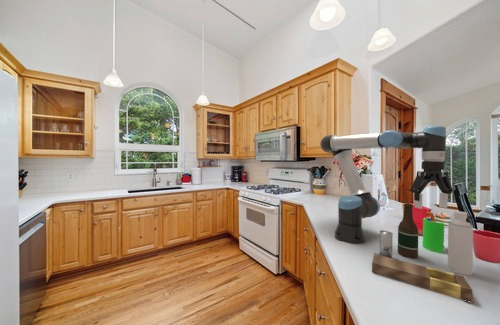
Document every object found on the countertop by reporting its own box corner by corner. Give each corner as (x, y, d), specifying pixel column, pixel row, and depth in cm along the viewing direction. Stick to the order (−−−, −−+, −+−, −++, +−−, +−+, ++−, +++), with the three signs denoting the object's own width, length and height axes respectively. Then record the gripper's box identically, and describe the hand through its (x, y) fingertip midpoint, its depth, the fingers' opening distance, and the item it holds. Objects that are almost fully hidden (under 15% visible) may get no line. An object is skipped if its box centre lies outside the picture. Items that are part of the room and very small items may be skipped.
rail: (371, 273, 74) (372, 262, 74) (373, 263, 81) (373, 253, 81) (472, 303, 59) (472, 290, 59) (463, 287, 66) (463, 276, 66)
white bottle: (476, 277, 72) (477, 211, 72) (451, 272, 75) (452, 208, 75) (467, 268, 78) (468, 207, 78) (444, 264, 81) (445, 205, 81)
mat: (372, 261, 83) (372, 260, 83) (374, 253, 90) (374, 252, 90) (398, 268, 78) (399, 267, 78) (398, 259, 85) (398, 258, 85)
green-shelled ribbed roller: (450, 253, 91) (451, 215, 91) (430, 251, 93) (431, 214, 93) (436, 245, 100) (436, 211, 100) (418, 243, 102) (418, 210, 102)
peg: (379, 260, 83) (379, 232, 83) (379, 256, 87) (380, 229, 87) (392, 263, 81) (392, 235, 81) (392, 259, 84) (392, 232, 84)
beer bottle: (413, 261, 84) (414, 206, 83) (393, 253, 90) (394, 202, 90) (422, 257, 87) (422, 204, 87) (402, 250, 94) (402, 201, 94)
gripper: (418, 160, 81) (415, 210, 81) (465, 161, 85) (463, 209, 85) (401, 160, 88) (399, 206, 89) (446, 161, 92) (443, 205, 93)
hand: (430, 207), depth 87 cm, fingers open, 13 cm apart
